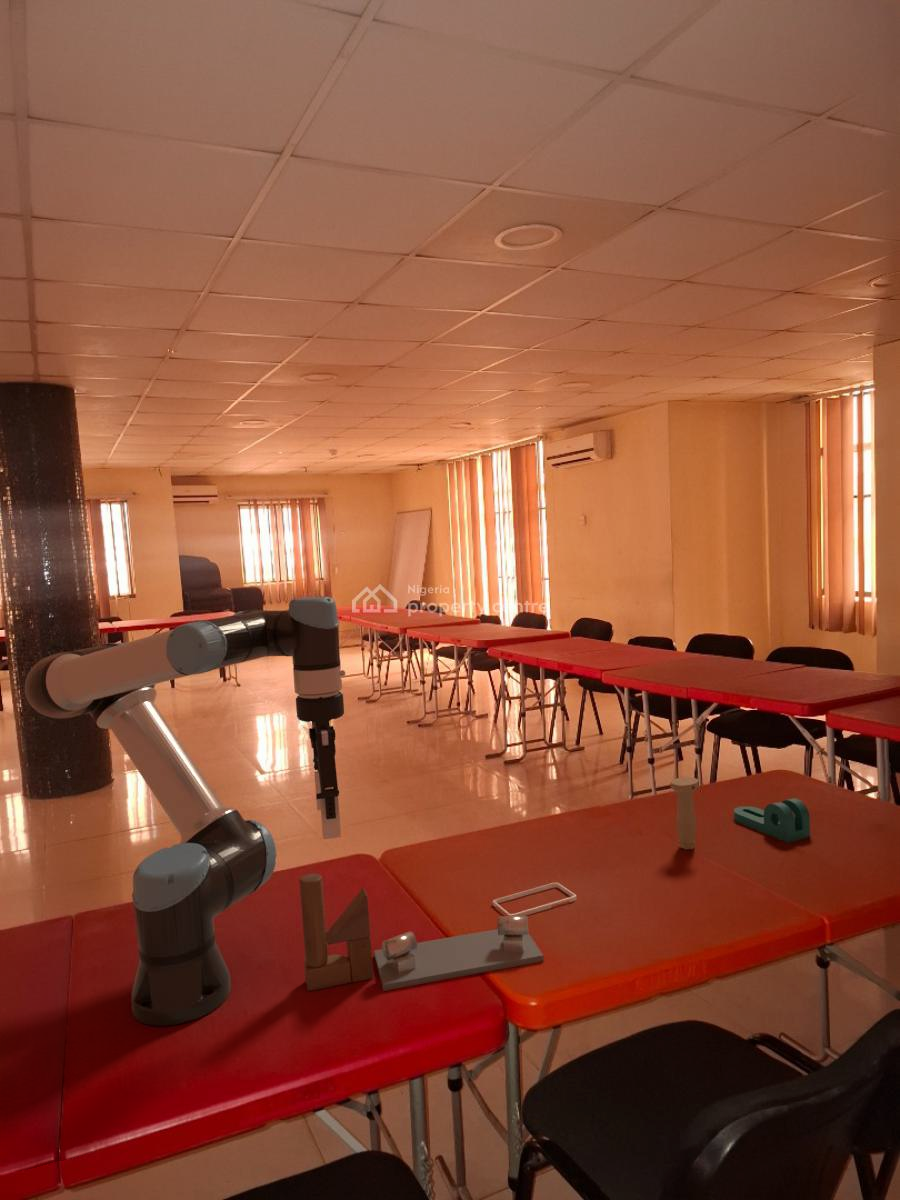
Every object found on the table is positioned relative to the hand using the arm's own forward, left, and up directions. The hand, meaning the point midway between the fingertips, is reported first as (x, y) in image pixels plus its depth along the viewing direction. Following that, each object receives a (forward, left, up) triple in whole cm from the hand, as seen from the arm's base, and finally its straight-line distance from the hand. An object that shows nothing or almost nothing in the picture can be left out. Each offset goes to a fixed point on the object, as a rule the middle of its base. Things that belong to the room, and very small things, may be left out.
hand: (328, 822), depth 127 cm
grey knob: (+30, -1, -27) cm, 40 cm away
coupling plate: (+20, 0, -27) cm, 33 cm away
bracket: (+102, +32, -27) cm, 110 cm away
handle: (+79, +28, -27) cm, 88 cm away
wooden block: (0, 0, -27) cm, 27 cm away
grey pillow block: (+10, -1, -27) cm, 28 cm away
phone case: (+39, +15, -27) cm, 50 cm away
